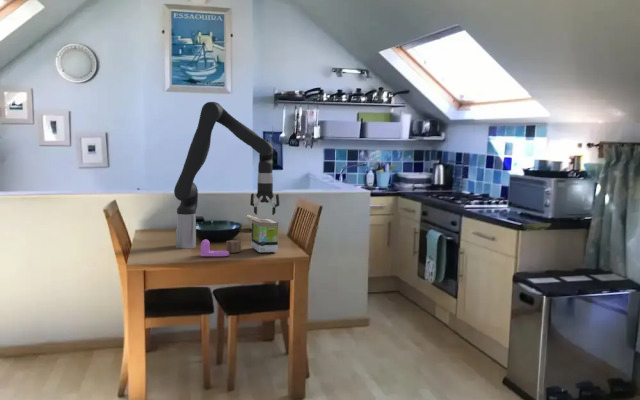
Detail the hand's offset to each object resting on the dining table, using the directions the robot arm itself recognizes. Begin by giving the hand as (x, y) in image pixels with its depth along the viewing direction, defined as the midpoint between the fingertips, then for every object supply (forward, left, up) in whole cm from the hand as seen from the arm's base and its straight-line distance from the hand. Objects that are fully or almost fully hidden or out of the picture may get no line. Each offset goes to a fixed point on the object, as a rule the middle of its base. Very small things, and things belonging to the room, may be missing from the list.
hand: (264, 214), depth 268 cm
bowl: (-12, +56, -18) cm, 60 cm away
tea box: (0, 0, -18) cm, 18 cm away
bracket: (-21, -16, -18) cm, 32 cm away
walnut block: (-13, -5, -15) cm, 20 cm away
